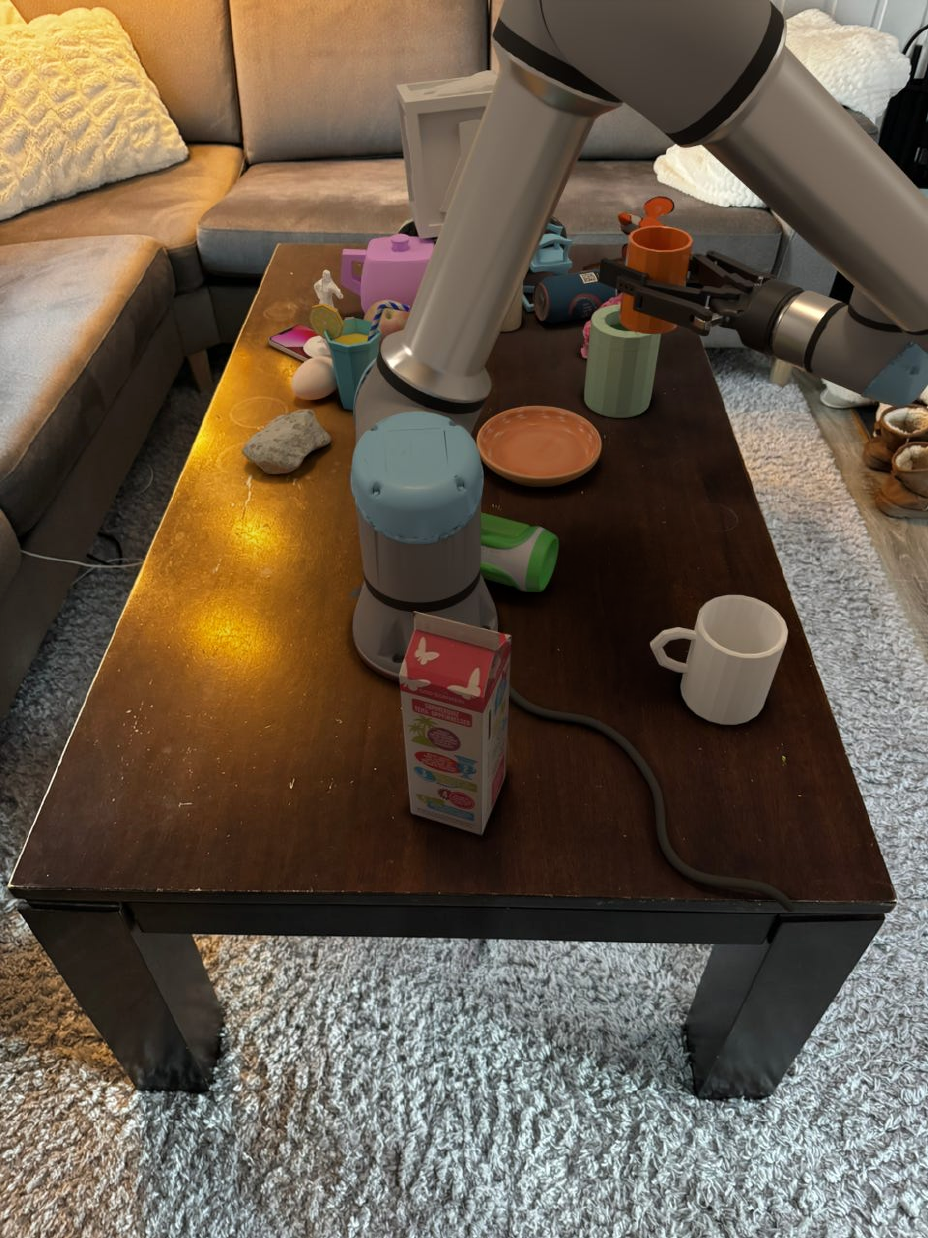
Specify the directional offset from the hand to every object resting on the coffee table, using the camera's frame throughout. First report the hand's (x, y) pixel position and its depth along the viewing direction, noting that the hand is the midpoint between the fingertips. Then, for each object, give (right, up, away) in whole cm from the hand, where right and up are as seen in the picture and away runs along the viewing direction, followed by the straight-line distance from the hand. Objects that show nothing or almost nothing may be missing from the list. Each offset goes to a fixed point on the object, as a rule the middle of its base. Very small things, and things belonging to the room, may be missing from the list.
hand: (623, 259), depth 109 cm
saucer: (-10, -23, +9) cm, 26 cm away
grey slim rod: (-37, +3, +34) cm, 51 cm away
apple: (-30, -2, +30) cm, 42 cm away
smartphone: (-36, -6, +25) cm, 44 cm away
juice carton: (-20, -59, -27) cm, 68 cm away
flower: (+3, -3, +28) cm, 29 cm away
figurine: (-40, -3, +27) cm, 48 cm away
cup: (-33, -13, +19) cm, 40 cm away
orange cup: (+3, -7, +2) cm, 8 cm away
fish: (+16, +19, +41) cm, 47 cm away
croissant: (+7, +17, +41) cm, 45 cm away
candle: (-13, +4, +35) cm, 37 cm away
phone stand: (-6, +10, +40) cm, 42 cm away
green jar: (+2, -12, +19) cm, 23 cm away
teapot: (-29, +5, +37) cm, 47 cm away
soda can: (+4, +9, +35) cm, 37 cm away
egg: (-37, -7, +20) cm, 43 cm away
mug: (+4, -51, -19) cm, 55 cm away
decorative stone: (-42, -22, +10) cm, 49 cm away
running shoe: (-16, +20, +43) cm, 51 cm away
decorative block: (-18, +22, +37) cm, 47 cm away
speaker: (-19, -36, -12) cm, 43 cm away
